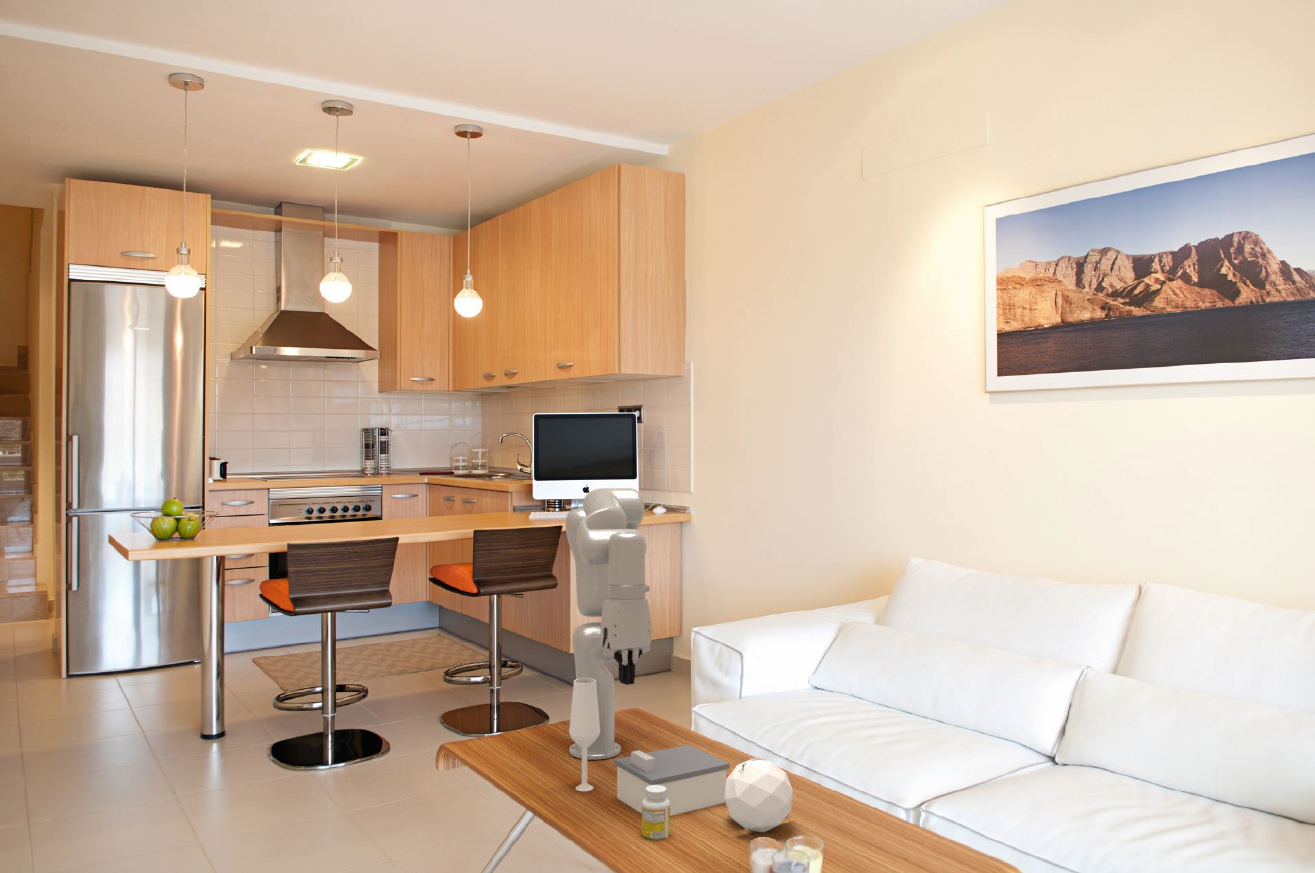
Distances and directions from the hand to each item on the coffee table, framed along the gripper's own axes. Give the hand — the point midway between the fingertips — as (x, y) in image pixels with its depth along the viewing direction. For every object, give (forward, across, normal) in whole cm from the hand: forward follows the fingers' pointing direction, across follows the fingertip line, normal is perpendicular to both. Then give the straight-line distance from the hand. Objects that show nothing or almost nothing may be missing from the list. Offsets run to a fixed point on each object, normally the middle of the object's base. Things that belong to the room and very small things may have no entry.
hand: (626, 683), depth 190 cm
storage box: (+26, -10, +1) cm, 28 cm away
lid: (+18, -10, +1) cm, 21 cm away
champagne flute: (+26, +1, -16) cm, 31 cm away
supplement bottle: (+27, +2, +13) cm, 30 cm away
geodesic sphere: (+27, -18, +20) cm, 38 cm away
